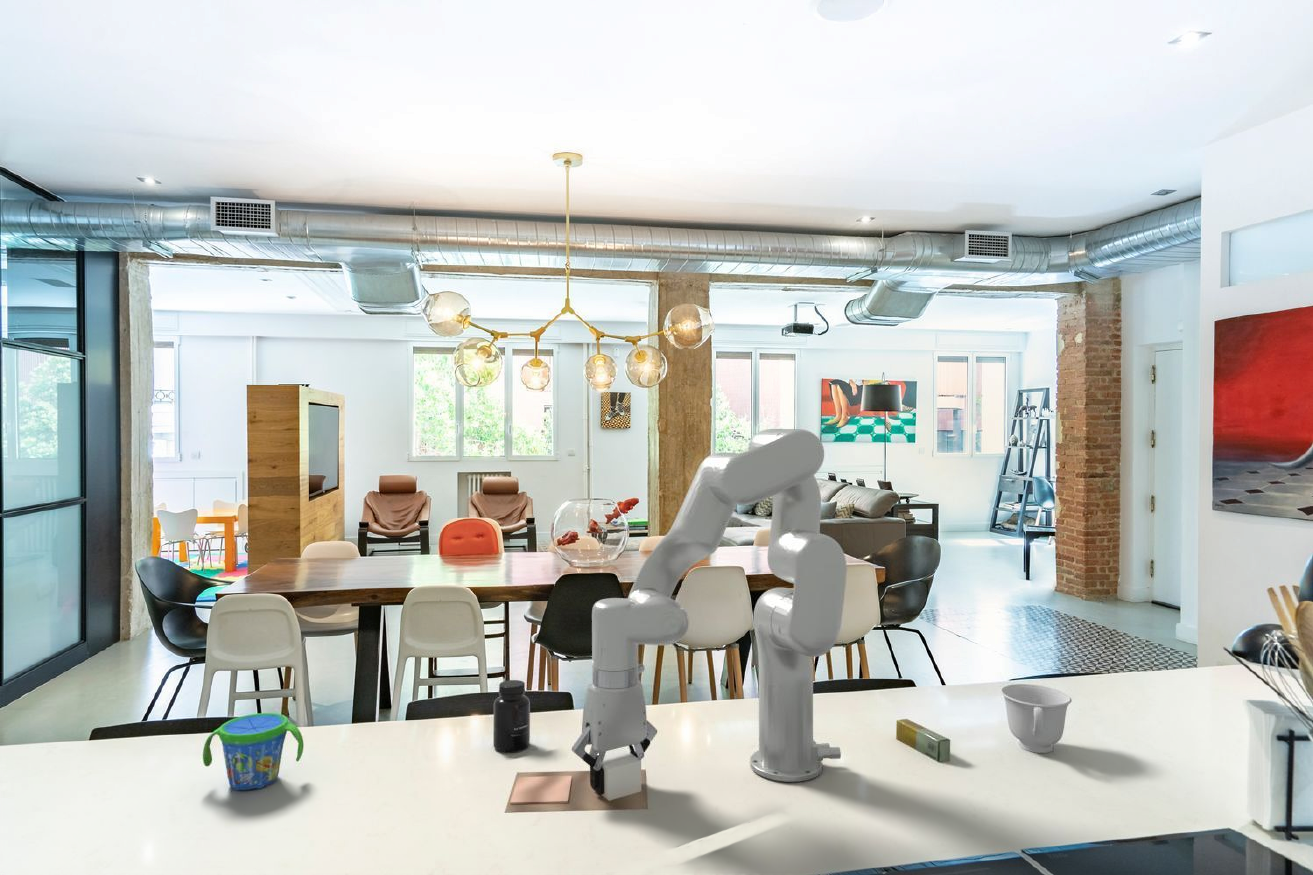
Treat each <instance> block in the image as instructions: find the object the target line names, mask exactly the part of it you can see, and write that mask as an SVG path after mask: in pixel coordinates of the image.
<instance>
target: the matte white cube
mask: <svg viewBox="0 0 1313 875" xmlns="http://www.w3.org/2000/svg"><path fill="white" fill-rule="evenodd" d="M601 768H602V769H603V770H604V794H602V796H604V797H605V798H606V799H607V800H609V801H610V800H613V799H616V798H620V797H623V796H627V795H630V794H634V793H637V792H640V791H641V770H642V759H641V760H640V759H638V758H637V757H635V756H634V755H632V754H631V753H630V751H628V750H627V749H625V747H622V748H618V749H614V750H610V751H606V753H605V756H604V760H603V763H602V766H601Z"/></svg>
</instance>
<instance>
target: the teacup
mask: <svg viewBox="0 0 1313 875" xmlns="http://www.w3.org/2000/svg"><path fill="white" fill-rule="evenodd" d="M1000 694H1001V695H1002V696H1003V699H1004V702H1005V703H1004V704H1005V709H1006V718H1007V723H1008V727H1009V730H1010V733H1011V734H1012V735H1013V736H1014V737H1015V738H1016V739H1017V740H1019V741H1018V746H1019V747H1020V748H1021V749H1023V750H1025V751H1027V752H1030V753H1035V754H1048V753H1050V752H1053V745H1055V744H1057V743H1058V742H1059V741H1060V740H1061V739H1062V737H1063V734H1064V730H1065V724H1066V723H1065V722H1066V716H1067V711H1068V710H1067V709H1068V706H1069V705H1070V704H1071V702H1073V701H1072V700H1073V699H1072V697H1070V696H1069V695H1068V694H1067V693H1065V692H1063V691H1061V690H1058V689H1056V688H1053V687H1048V686H1045V685H1038V684H1036V685H1035V684H1027V683H1019V684H1018V683H1017V684H1016V683H1015V684H1009V685H1006V686H1003V688H1001V689H1000Z"/></svg>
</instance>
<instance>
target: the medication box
mask: <svg viewBox="0 0 1313 875" xmlns="http://www.w3.org/2000/svg"><path fill="white" fill-rule="evenodd" d="M895 740H897V741H899V742H901V743H902V744H903V745H906V746H908V747H910V748H911V749H913V750H915V751H917V752H919V753H920V754H922V755H924V756H925V757H928V758H930V759H932V760H933V761H935V762H937V763H945V762H949V761H950V760H951V739H950V738H948V737H946V736H943V735H941V734H939V733H937V732H935V731H933V730H932V729H931V730H930V729H929V728H926V727H925V726H923V725H921V724H918V723H917V722H914V721H912V720H911V719H908V718H904V719H896V735H895Z"/></svg>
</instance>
